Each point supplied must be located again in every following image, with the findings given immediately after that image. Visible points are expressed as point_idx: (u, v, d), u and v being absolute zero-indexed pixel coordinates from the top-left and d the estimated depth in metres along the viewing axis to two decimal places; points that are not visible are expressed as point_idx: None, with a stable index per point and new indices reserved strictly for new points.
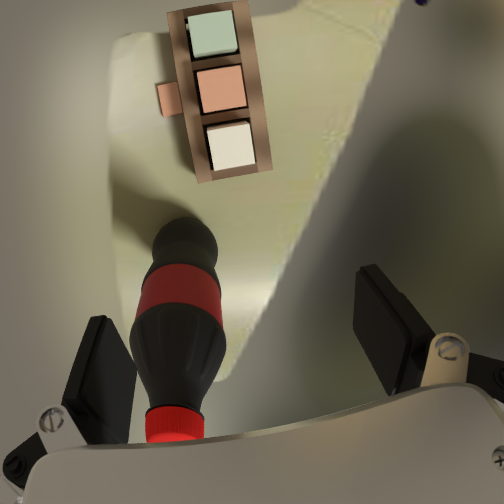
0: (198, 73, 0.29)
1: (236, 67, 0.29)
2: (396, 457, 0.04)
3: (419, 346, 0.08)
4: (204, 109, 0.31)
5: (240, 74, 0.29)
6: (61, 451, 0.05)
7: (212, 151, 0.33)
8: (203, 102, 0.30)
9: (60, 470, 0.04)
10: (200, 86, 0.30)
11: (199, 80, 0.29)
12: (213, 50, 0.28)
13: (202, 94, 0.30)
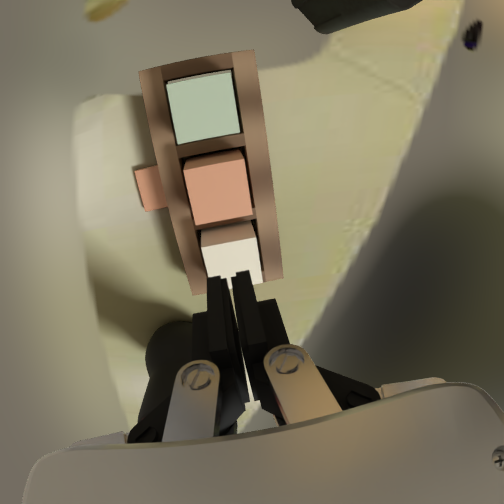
0: (185, 171, 0.23)
1: (238, 161, 0.23)
2: (396, 457, 0.04)
3: (259, 354, 0.09)
4: (196, 220, 0.25)
5: (244, 172, 0.23)
6: (61, 451, 0.05)
7: (209, 271, 0.27)
8: (194, 211, 0.24)
9: (60, 470, 0.04)
10: (189, 190, 0.23)
11: (187, 181, 0.23)
12: (205, 137, 0.22)
13: (192, 201, 0.24)
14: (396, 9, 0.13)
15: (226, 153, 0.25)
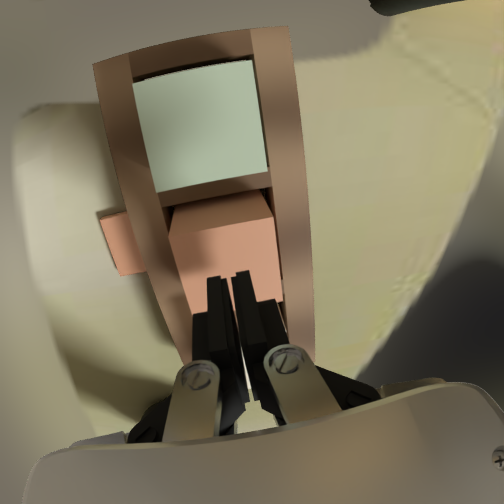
0: (172, 239, 0.13)
1: (264, 221, 0.14)
2: (396, 457, 0.04)
3: (259, 354, 0.09)
4: (193, 312, 0.15)
5: (273, 238, 0.14)
6: (61, 451, 0.05)
7: None
8: (190, 299, 0.15)
9: (60, 470, 0.04)
10: (180, 267, 0.14)
11: (176, 255, 0.14)
12: (205, 179, 0.12)
13: (186, 284, 0.15)
14: None
15: (240, 198, 0.16)
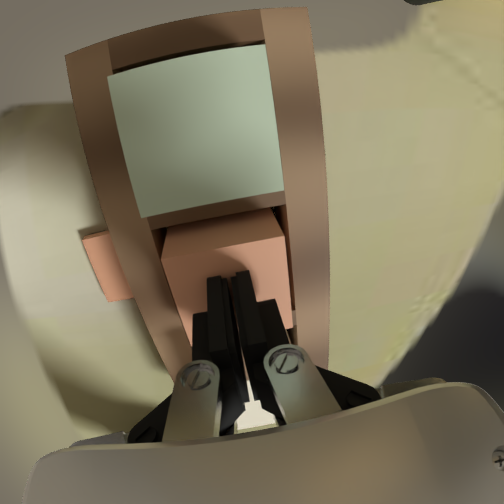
0: (165, 261, 0.11)
1: (273, 241, 0.12)
2: (396, 457, 0.04)
3: (259, 354, 0.09)
4: None
5: (283, 260, 0.12)
6: (61, 451, 0.05)
7: None
8: (188, 327, 0.13)
9: (60, 470, 0.04)
10: (175, 293, 0.12)
11: (171, 279, 0.12)
12: (204, 201, 0.10)
13: (183, 311, 0.13)
14: None
15: None
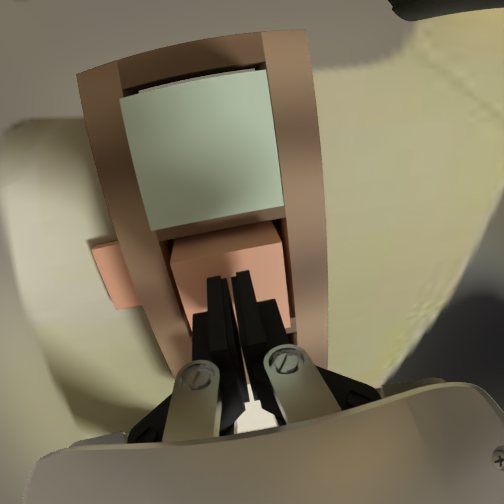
0: (174, 265, 0.13)
1: (272, 246, 0.13)
2: (396, 457, 0.04)
3: (259, 354, 0.09)
4: None
5: (281, 264, 0.13)
6: (61, 451, 0.05)
7: None
8: None
9: (60, 470, 0.04)
10: (182, 295, 0.13)
11: (178, 282, 0.13)
12: (209, 216, 0.10)
13: (189, 311, 0.14)
14: None
15: None
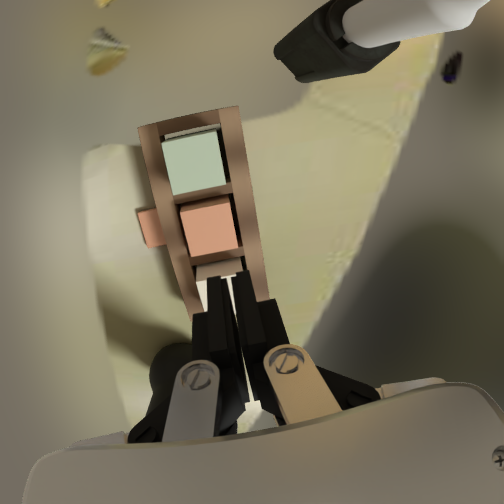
0: (181, 213, 0.28)
1: (225, 204, 0.28)
2: (396, 457, 0.04)
3: (259, 354, 0.09)
4: (191, 253, 0.30)
5: (230, 213, 0.29)
6: (61, 451, 0.05)
7: (203, 301, 0.31)
8: (190, 246, 0.30)
9: (60, 470, 0.04)
10: (185, 228, 0.29)
11: (183, 221, 0.29)
12: (196, 189, 0.26)
13: (188, 237, 0.29)
14: (357, 73, 0.17)
15: None
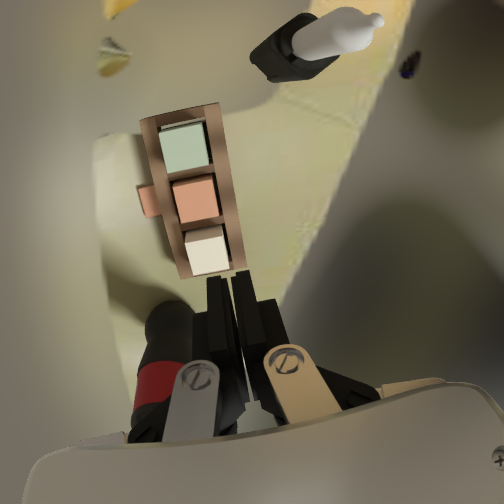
0: (174, 188, 0.35)
1: (208, 181, 0.35)
2: (396, 457, 0.04)
3: (259, 354, 0.09)
4: (181, 220, 0.37)
5: (212, 188, 0.36)
6: (61, 451, 0.05)
7: (190, 260, 0.38)
8: (180, 214, 0.37)
9: (60, 470, 0.04)
10: (176, 200, 0.36)
11: (175, 194, 0.35)
12: (185, 168, 0.33)
13: (179, 207, 0.36)
14: (304, 79, 0.24)
15: (202, 174, 0.38)
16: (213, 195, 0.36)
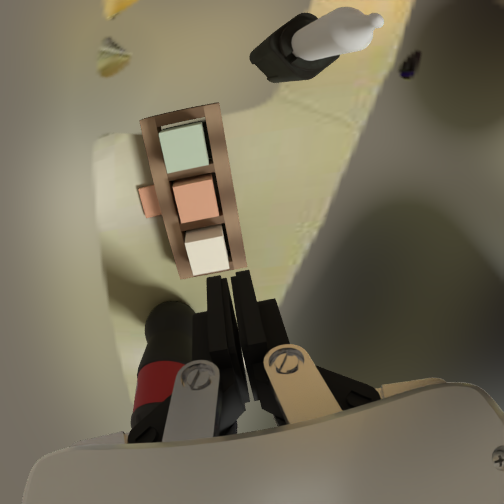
0: (174, 188, 0.35)
1: (208, 181, 0.35)
2: (396, 457, 0.04)
3: (259, 354, 0.09)
4: (181, 220, 0.37)
5: (212, 188, 0.36)
6: (61, 451, 0.05)
7: (190, 260, 0.38)
8: (180, 214, 0.37)
9: (60, 470, 0.04)
10: (176, 200, 0.36)
11: (175, 194, 0.35)
12: (185, 168, 0.33)
13: (179, 207, 0.36)
14: (304, 79, 0.24)
15: (202, 174, 0.38)
16: (213, 195, 0.36)
